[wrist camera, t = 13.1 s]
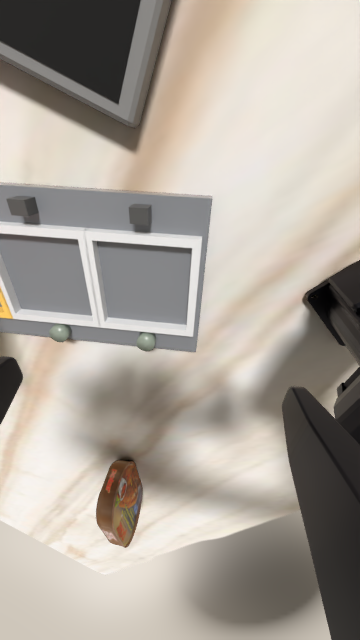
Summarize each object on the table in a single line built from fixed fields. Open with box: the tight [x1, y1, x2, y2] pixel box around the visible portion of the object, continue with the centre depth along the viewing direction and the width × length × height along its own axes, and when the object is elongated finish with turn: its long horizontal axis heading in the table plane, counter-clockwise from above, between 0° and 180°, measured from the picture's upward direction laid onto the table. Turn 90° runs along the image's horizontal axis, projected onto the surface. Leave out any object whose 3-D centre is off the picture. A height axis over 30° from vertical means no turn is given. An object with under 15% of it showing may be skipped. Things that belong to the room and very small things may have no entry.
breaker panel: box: [0, 183, 212, 352], centre depth 20 cm, size 25×13×2 cm, turn 88°
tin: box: [96, 460, 142, 548], centre depth 38 cm, size 15×3×8 cm, turn 3°
